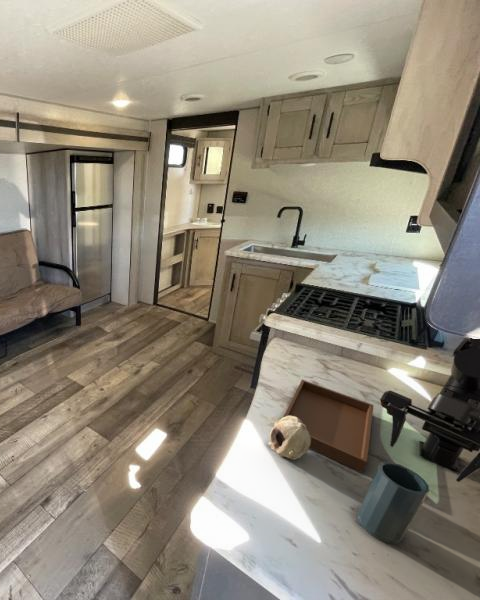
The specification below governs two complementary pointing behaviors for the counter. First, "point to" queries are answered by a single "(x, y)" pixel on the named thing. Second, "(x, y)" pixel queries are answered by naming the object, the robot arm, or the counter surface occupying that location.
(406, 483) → the tumbler
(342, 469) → the counter surface
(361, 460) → the tray
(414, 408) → the robot arm
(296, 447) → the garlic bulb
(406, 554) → the counter surface
